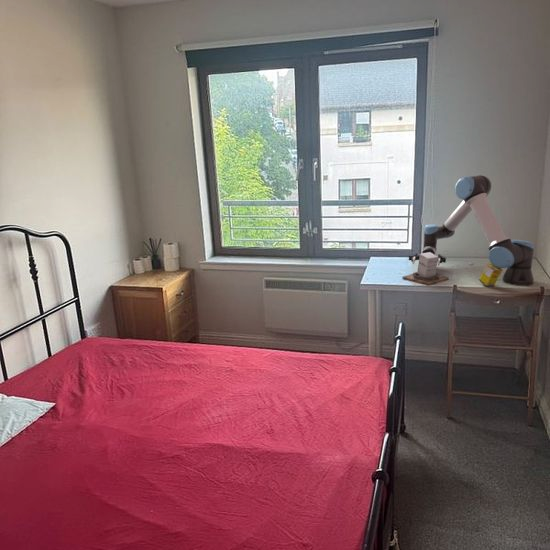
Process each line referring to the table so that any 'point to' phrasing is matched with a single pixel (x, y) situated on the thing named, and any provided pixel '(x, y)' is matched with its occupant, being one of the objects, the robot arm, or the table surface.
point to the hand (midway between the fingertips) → (426, 262)
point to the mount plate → (427, 282)
